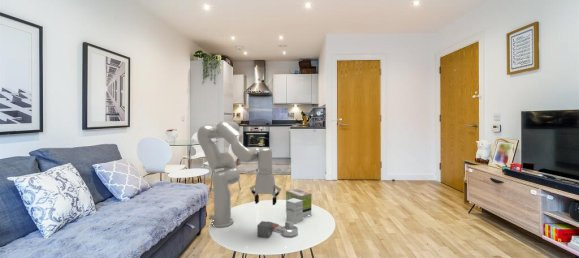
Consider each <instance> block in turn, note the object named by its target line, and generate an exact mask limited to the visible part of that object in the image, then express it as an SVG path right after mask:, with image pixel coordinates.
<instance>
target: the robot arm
mask: <svg viewBox="0 0 579 258" xmlns="http://www.w3.org/2000/svg"><path fill="white" fill-rule="evenodd" d="M196 135H197V136H196V137H197V141H198V143H199V147H200V148H201V149H202V151H203V153H204V156H205V159H206V161H207V164H208V166H209V168H210V170H213V171H214V170H215V172H214V173H213V175H212V177H211V181H212V186H213V214H209V216H208V220H212V221H213V220H214V221H213V222H212V221H211V223H213V225H214V226H216V227H215V228H226V227H229V226H231V225H233V224H234V219H233V218H231V217H232V216H231V214H232V211H231V210H232V208H231V206H232V203H231V202H232V200H231V190H230V188H229V186H231V185H234V184H237V183H238V182H239V181H240V179H241V177H240V175H241V174H240V170H239V169H238V166H237V164H236V161H235V159H234V157H233V156H232V154H230V153H229V152H221V151H220V149H219V147H218V145H217V143H216V142H214V141H213V140H212V139H222V138H223V139H224V140H225V141H226V142H228V143H229V144H230V148H231V151H232V153H233V155H234V156H235V157H236V158H238V160H240V161H241V162H243V163H252V162H257V168H256V169H255V172H256V173H257V174H256V175H255V183H254V185H252V186H250V187H249V189H250V191H251V193H252V194H253V197H254V202H255V204H256V205H257V204H258V203H259V202H260V195H259V194H261V195H271V196H272V199H271V200H272V206H275V205H276V204H277V202H278V201H277V197H278V195H280V193H281V191H282V188H281V187H279V186H277V185H276V180H275V175H274V173H273V150H272V148H270V147H259V146H254V147H246V146H245V145H243V144H242V143H241V142H242V140H243V139H244V137H243V134H242V133H241V131H240V125H239V124H238V123H237V122H236V121H232V120H229V121H228V120H227V121H226V120H224V121H219V123H217V124H205V125H202V126H201V127H199V128H198V130H197V134H196ZM216 170H217V171H216ZM276 190H277V191H276ZM211 223H210V224H211ZM214 226H213V227H214Z"/></svg>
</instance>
